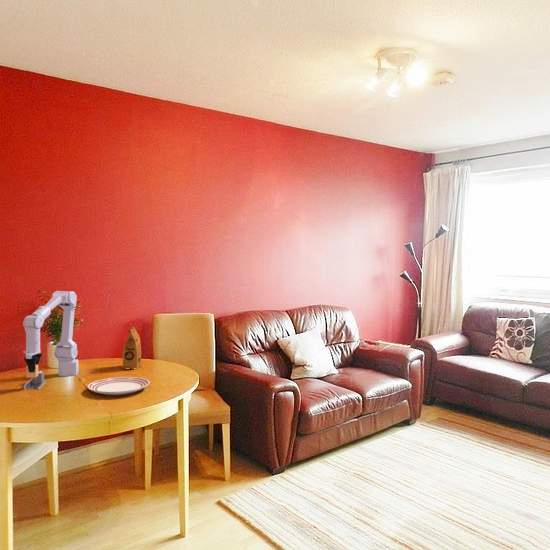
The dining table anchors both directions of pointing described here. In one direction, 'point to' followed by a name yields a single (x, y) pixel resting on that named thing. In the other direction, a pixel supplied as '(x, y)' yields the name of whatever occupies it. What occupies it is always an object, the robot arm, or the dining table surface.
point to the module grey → (38, 378)
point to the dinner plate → (118, 385)
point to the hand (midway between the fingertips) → (33, 370)
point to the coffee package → (132, 350)
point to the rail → (33, 385)
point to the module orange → (32, 374)
